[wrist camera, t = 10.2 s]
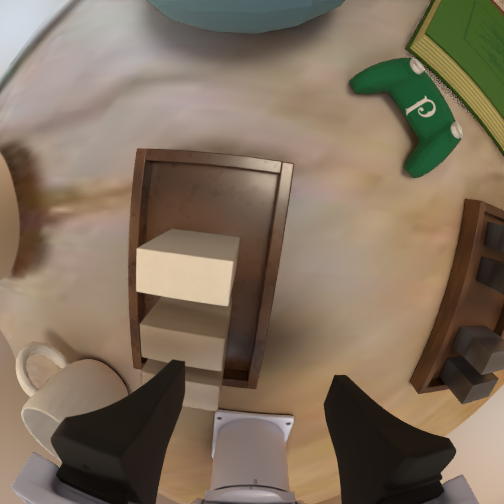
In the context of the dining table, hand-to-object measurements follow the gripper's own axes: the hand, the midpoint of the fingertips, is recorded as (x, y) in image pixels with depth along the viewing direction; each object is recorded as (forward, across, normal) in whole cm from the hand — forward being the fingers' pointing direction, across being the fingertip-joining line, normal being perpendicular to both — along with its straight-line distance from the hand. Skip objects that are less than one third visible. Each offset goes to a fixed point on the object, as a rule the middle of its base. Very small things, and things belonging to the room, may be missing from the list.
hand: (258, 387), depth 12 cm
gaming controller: (+10, -10, -17) cm, 22 cm away
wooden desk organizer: (+10, -24, -2) cm, 26 cm away
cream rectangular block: (+9, +4, -4) cm, 11 cm away
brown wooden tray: (+10, +4, -2) cm, 11 cm away
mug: (+10, +16, +11) cm, 22 cm away
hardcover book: (+10, -25, -28) cm, 39 cm away
